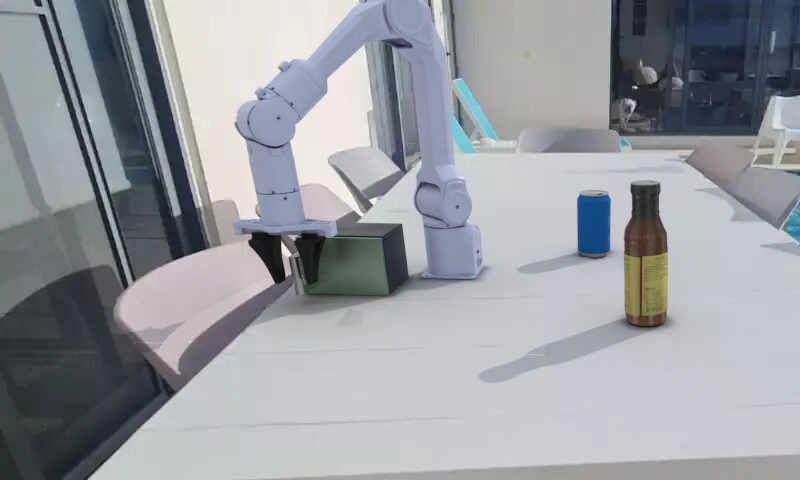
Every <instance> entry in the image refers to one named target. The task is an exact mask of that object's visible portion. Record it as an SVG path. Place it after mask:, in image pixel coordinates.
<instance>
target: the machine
mask: <svg viewBox="0 0 800 480" xmlns="http://www.w3.org/2000/svg"><path fill="white" fill-rule="evenodd" d="M336 226H337V232H338V234H337V235H335V236H333V237H370V238H382V242H383V249H384V256H385V264H386V271H387V278H388V285H389V292H390V294H389V295H392V293H393V292H395V291H396V290H397V289H398V288H399V287H400V286H402V285H403V284H404V283H405V282H406V281H407V280H408V279H409V278H410V275H409V267H408V259H407V251H406V243H405V234H404V228H403V223H399V222H398V223H394V222H393V223H391V222H347V221H345V222H342V221H341V222H340V221H338V222H337V221H336ZM297 236H301V235H297Z"/></svg>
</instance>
